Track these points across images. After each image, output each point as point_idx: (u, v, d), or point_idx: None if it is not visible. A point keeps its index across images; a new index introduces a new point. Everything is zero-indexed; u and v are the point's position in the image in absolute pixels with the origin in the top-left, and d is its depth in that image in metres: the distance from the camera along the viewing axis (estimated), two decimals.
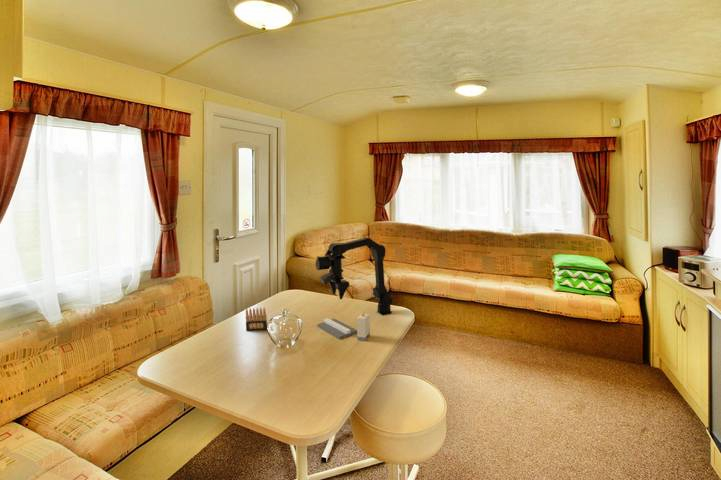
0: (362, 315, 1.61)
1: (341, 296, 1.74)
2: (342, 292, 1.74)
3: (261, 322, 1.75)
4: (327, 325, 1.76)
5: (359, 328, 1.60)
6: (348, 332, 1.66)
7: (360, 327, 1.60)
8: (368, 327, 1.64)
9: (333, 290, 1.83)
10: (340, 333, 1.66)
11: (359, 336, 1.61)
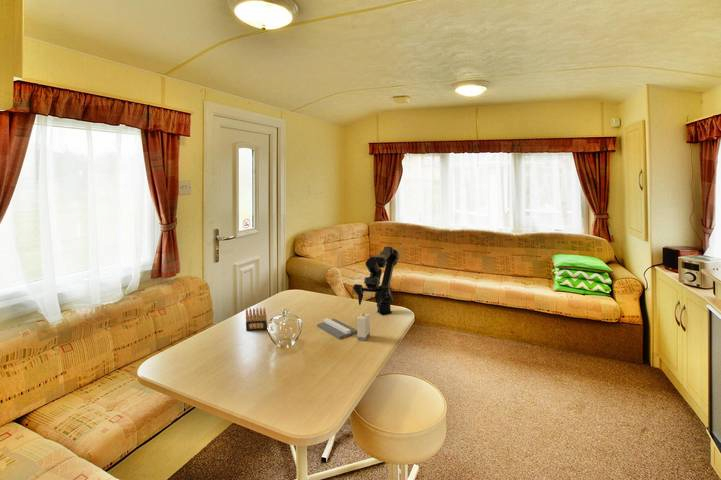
0: (362, 315, 1.61)
1: (379, 303, 1.67)
2: (381, 300, 1.68)
3: (261, 322, 1.75)
4: (327, 325, 1.76)
5: (359, 328, 1.60)
6: (348, 332, 1.66)
7: (360, 327, 1.60)
8: (368, 327, 1.64)
9: (360, 300, 1.71)
10: (340, 333, 1.66)
11: (359, 336, 1.61)
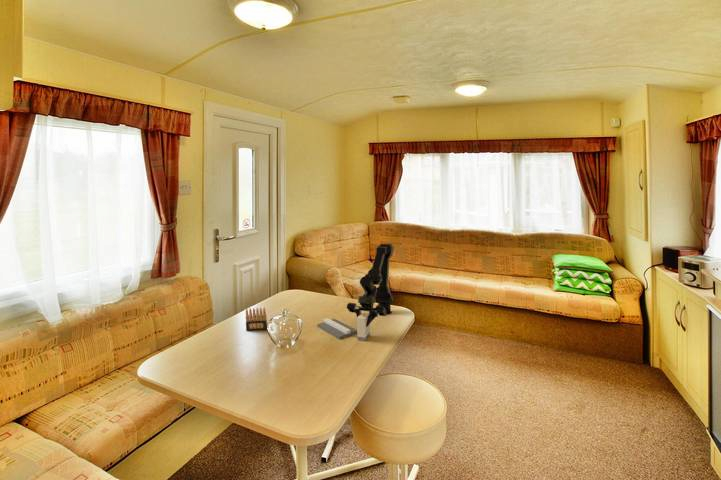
0: (362, 315, 1.61)
1: (368, 323, 1.61)
2: (371, 319, 1.62)
3: (261, 322, 1.75)
4: (327, 325, 1.76)
5: (359, 328, 1.60)
6: (348, 332, 1.66)
7: (360, 327, 1.60)
8: (368, 327, 1.64)
9: None
10: (340, 333, 1.66)
11: (359, 336, 1.61)
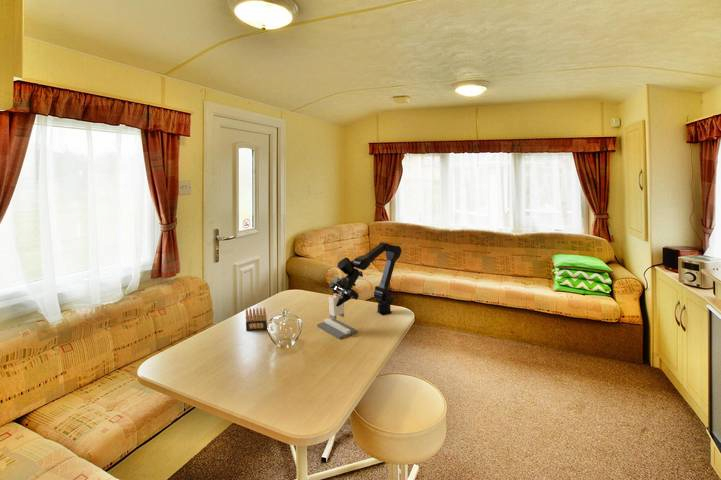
0: (334, 295, 1.70)
1: (339, 303, 1.69)
2: (342, 300, 1.69)
3: (261, 322, 1.75)
4: (327, 325, 1.76)
5: (330, 306, 1.70)
6: (348, 332, 1.66)
7: (331, 306, 1.69)
8: (341, 307, 1.71)
9: None
10: (340, 333, 1.66)
11: (330, 314, 1.71)
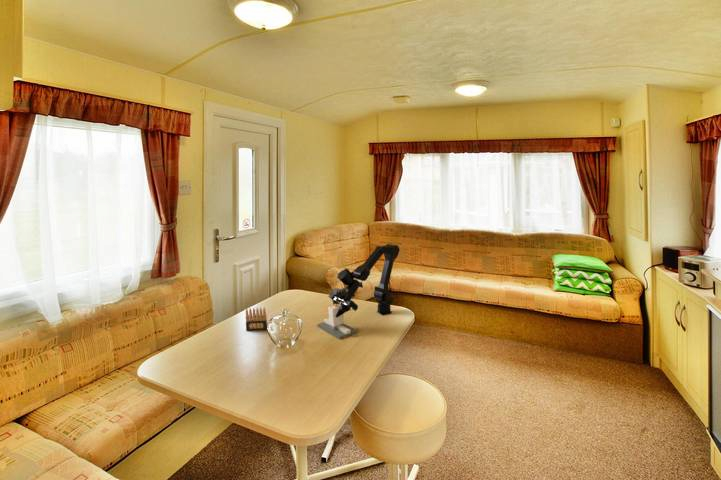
0: (334, 305, 1.71)
1: (338, 314, 1.70)
2: (342, 311, 1.71)
3: (261, 322, 1.75)
4: (327, 325, 1.76)
5: (329, 316, 1.71)
6: (348, 332, 1.66)
7: (330, 316, 1.71)
8: (341, 318, 1.72)
9: None
10: (340, 333, 1.66)
11: (330, 324, 1.72)
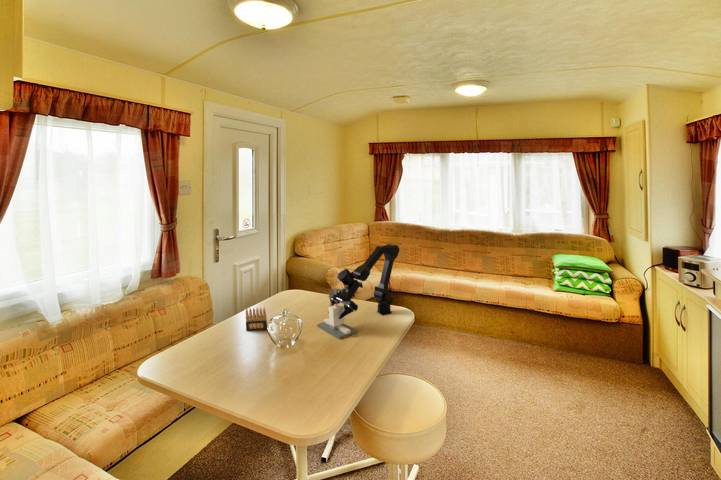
0: (334, 305, 1.72)
1: (341, 316, 1.68)
2: (345, 313, 1.69)
3: (261, 322, 1.75)
4: (327, 325, 1.76)
5: (330, 316, 1.72)
6: (348, 332, 1.66)
7: (331, 316, 1.71)
8: (341, 318, 1.72)
9: None
10: (340, 333, 1.66)
11: (330, 324, 1.72)
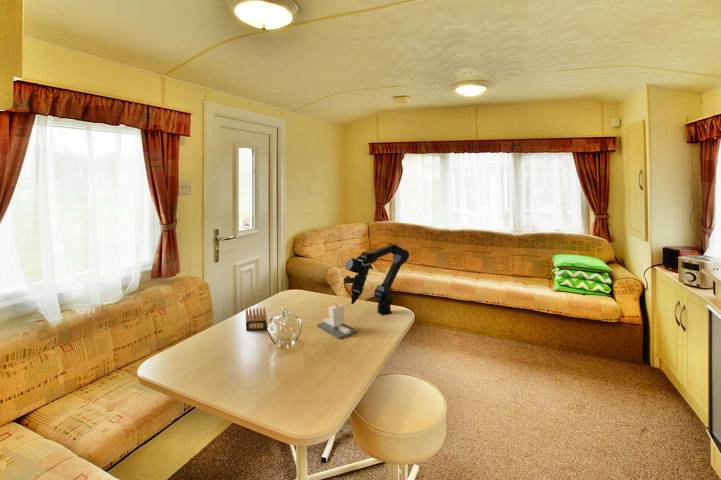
0: (334, 305, 1.72)
1: (353, 301, 1.75)
2: (355, 297, 1.74)
3: (261, 322, 1.75)
4: (327, 325, 1.76)
5: (330, 316, 1.72)
6: (348, 332, 1.66)
7: (331, 316, 1.71)
8: (341, 318, 1.72)
9: None
10: (340, 333, 1.66)
11: (330, 324, 1.72)
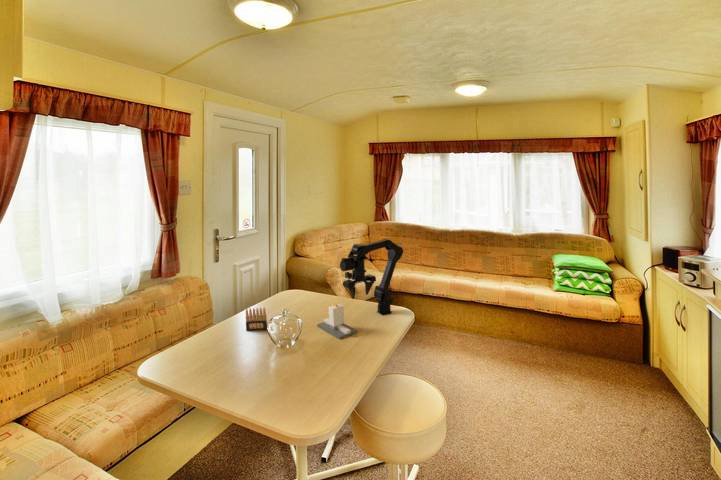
0: (334, 305, 1.72)
1: (352, 296, 1.80)
2: (351, 292, 1.79)
3: (261, 322, 1.75)
4: (327, 325, 1.76)
5: (330, 316, 1.72)
6: (348, 332, 1.66)
7: (331, 316, 1.71)
8: (341, 318, 1.72)
9: (366, 290, 1.86)
10: (340, 333, 1.66)
11: (330, 324, 1.72)
